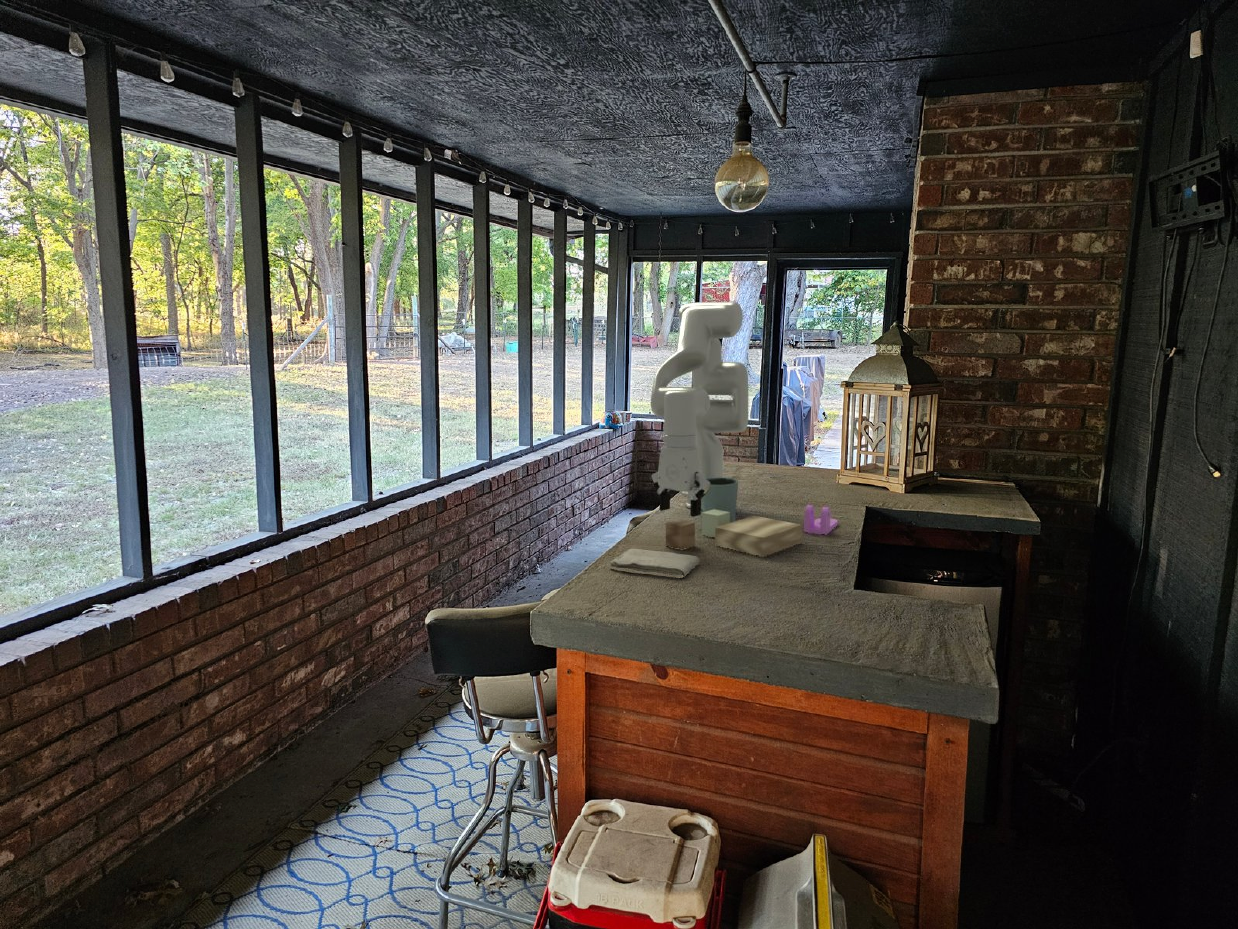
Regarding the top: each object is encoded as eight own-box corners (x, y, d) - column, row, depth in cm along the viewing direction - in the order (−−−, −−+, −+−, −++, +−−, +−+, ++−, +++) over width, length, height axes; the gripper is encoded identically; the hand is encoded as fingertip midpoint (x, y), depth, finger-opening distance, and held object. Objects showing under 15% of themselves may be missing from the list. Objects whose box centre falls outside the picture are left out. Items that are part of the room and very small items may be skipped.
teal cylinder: (742, 521, 211) (742, 478, 209) (731, 530, 202) (731, 485, 200) (706, 518, 215) (706, 476, 213) (694, 527, 206) (694, 483, 204)
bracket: (825, 535, 196) (826, 508, 195) (804, 533, 199) (804, 506, 198) (839, 524, 207) (840, 499, 206) (819, 522, 210) (820, 496, 209)
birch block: (715, 547, 188) (715, 527, 188) (754, 534, 199) (754, 515, 199) (763, 558, 179) (763, 537, 178) (801, 544, 190) (801, 524, 189)
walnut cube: (665, 546, 188) (665, 522, 187) (679, 542, 192) (679, 519, 191) (681, 550, 185) (681, 526, 184) (694, 546, 188) (694, 522, 187)
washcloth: (627, 557, 181) (626, 545, 181) (701, 565, 174) (701, 552, 174) (607, 572, 170) (606, 559, 170) (685, 581, 164) (685, 567, 163)
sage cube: (702, 535, 198) (702, 512, 197) (714, 531, 201) (714, 509, 200) (717, 539, 195) (717, 515, 193) (729, 535, 198) (729, 512, 197)
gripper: (642, 440, 187) (643, 510, 190) (698, 446, 175) (698, 520, 178) (663, 437, 192) (663, 505, 195) (719, 443, 180) (718, 515, 183)
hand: (679, 512), depth 186 cm, fingers open, 9 cm apart
